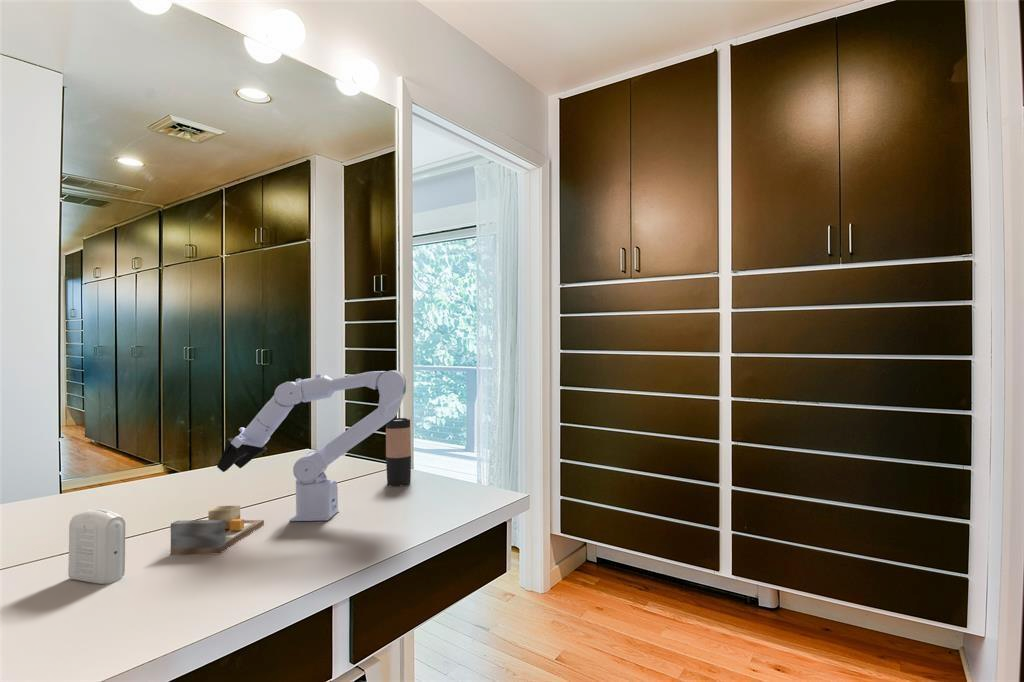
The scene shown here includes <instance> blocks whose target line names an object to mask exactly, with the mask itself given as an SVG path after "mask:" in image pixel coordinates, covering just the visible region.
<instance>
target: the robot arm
mask: <svg viewBox="0 0 1024 682" xmlns="http://www.w3.org/2000/svg"><path fill="white" fill-rule="evenodd" d="M363 387H365V388H366V387H367V388H368V389H372V390H377V389H378V394H379V397H378V398H379V400H378V406H377V408H376V409H374V410H372V412H370V413H369V414H368V415H366V416H365V417H363V418H362V419H360V420H359V421H358V422H356V423H355V424H353V425H352V426H351V427H349V428H348V429H346V430H345V431H343V432H342V433H341V434H340V435H337V436H336V437H335V438H333V440H330V442H328V443H327V444H326V445H323V446H322V447H321V448H320V449H316V450H312V451H309V452H307V454H305V455H304V456H302V457H300V458H298V459H297V460H296V461H295V462H294V464H293V469H292V472H293V476H294V478H295V515H293V516H292V517H290V518H289V519H288V521H289V522H307V521H309V522H310V521H311V522H315V521H316V522H317V521H328V520H330V519H331V518H333V516H335V515H337V513H338V512H340V510H339V507H338V506H339V504H338V503H339V502H338V498H339V497H338V494H339V493H338V490H339V489H338V483H337V481H336V480H330V479H327V478H328V477H327V475H326V473H325V471H326V470H327V468H328V466H329V465H331V464H332V463H334V461H336V460H337V459H339V458H340V457H341V456H343V455H344V454H346V453H348V452H349V451H350V450H352V448H354V447H355V446H357V445H358V444H359V443H361V442H362V441H364V440H365V439H367V438H368V437H370V436H371V435H372V434H373V433H375V432H377V431H378V430H379V429H380V428H382V427H384V426H386V423H388V422H389V421H390V420H392V419H394V418H396V416H397V414H398V413H399V411H400V407H401V405H402V402H403V400H404V397H405V394H406V391H407V380H406V377H405V374H403V373H402V372H401V371H399V370H396V369H395V370H394V369H393V370H388V371H386V370H380V371H379V370H377V371H376V370H375V371H366V372H362V373H356V374H353V375H346V376H344V377H339V378H331V377H330V376H329V375H325V374H324V375H323V374H322V373H318V374H315V377H310V378H304V379H302V378H296V379H295V381H285V382H283V383H281V384H279V385H278V386H277V387H276V388H275V390H274V395H273V396H272V397H271V398H270V400H268V401H267V402H266V404H264V406H263V407H262V408H261V410H260V411H259V412H258V413H257V414H256V415H255V416H254V418H253V419H252V420H251V422H250V423H249V424H248V425H247V426H246V428H245V427H239V428H238V431H239V432H240V433H239V435H237V436H235V437H234V438H233V437H231V438H230V437H229V438H227V439H226V441H225V444H224V445H225V446H224V450H223V453H222V455H221V458H220V459H219V461H218V464H217V466H216V467H217V469H219V470H220V471H221V472H222V473H225V472H226V471H228V470H229V469H230V468H231V467H232V466H233V465H235V466H236V467H237V468H239V469H242V468H243V467H245V466H246V465H247V464H248V463H249V462H251V461H252V460H253V459H254V458H256V457H257V456H259V455H260V454H263V453H264V452H266V451H267V450H268V448H267V446H265V445H266V444H267V443H268V442H269V440H270V439H271V436H272V435H273V433H274V432H275V431H276V430H277V429H278V428H279V426H280V425H281V424H282V422H283V421H284V420H285V419H286V418H287V416H288V415H289V413H290V412H291V411H292V409H293V408H294V407H295V405H299V404H300V403H302V402H303V403H309V402H312V401H313V402H314V401H320V400H324V399H329V398H331V397H332V396H333V394H335V392H338V391H344V390H350V389H357V388H363Z"/></svg>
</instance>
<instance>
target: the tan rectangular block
mask: <svg viewBox="0 0 1024 682" xmlns="http://www.w3.org/2000/svg"><path fill="white" fill-rule="evenodd" d="M233 519H241V505H218V506H216V507H215V508H214V507H213V508H212V509H210V510H208V518H207V520H225V529H230V521H231V520H233Z"/></svg>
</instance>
